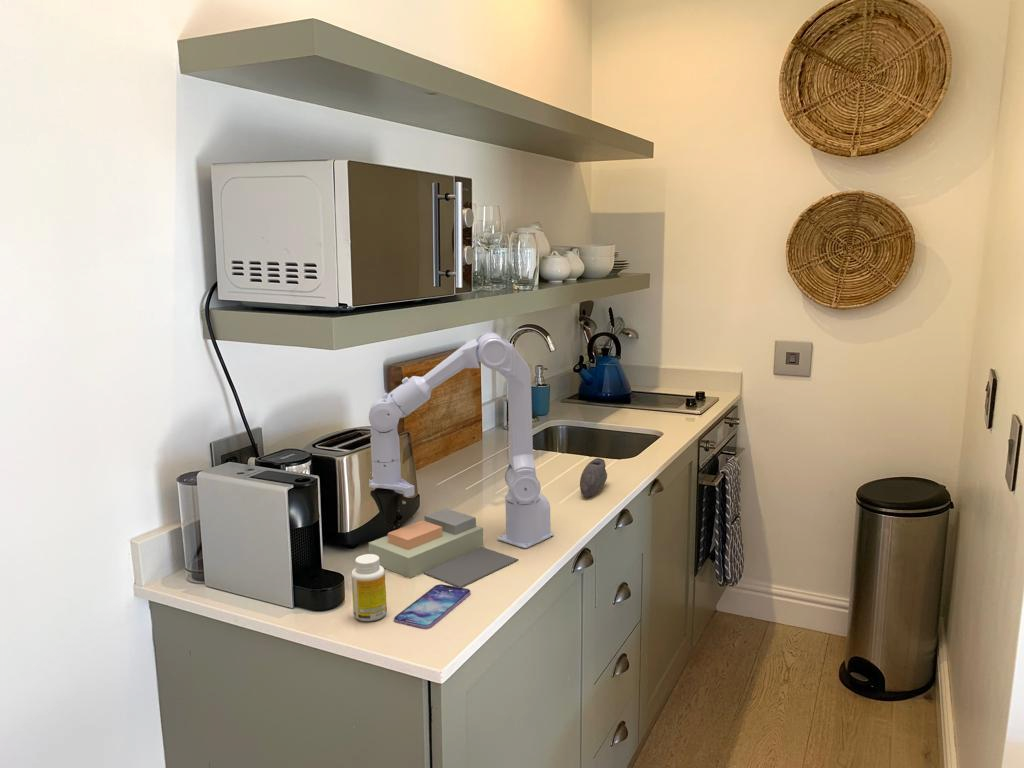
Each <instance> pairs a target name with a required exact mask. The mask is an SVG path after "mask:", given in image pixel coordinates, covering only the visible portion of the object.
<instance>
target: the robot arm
mask: <svg viewBox="0 0 1024 768" xmlns="http://www.w3.org/2000/svg"><path fill="white" fill-rule="evenodd" d="M479 363H480V364H482V365H483V366H485V368H488V369H490V370H493V371H496V372H499V374H501V376H503V377H504V378H505V379H506V380H507V405H508V406H507V407H508V408H507V410H508V437H509V455H508V465H507V468H506V470H505V473H504V480H505V481H504V482H505V484H506V485H507V488H508V489H509V490H508V491H507V493H506V494H505V502H504V503H505V531H506V532H505V533H504V534H502V535H500V536H497V540H498V541H500V542H504V543H506V544H510V545H513V546H516V547H519V548H522V549H528V548H530V547H532V546H534V545H537V544H538V543H541V542H544V540H545V541H546V540H547V539H549V538H551V536H552V537H554V532H551V505H550V502H549V500H548V498H547V496H545V495H544V494H542V492H541V490H542V487H541V482H540V480H539V479H538V477H537V472H536V464H535V460H534V459H535V457H534V448H533V447H534V445H533V444H534V443H533V441H534V440H533V438H534V437H533V410H532V409H533V406H532V404H533V403H532V402H533V401H532V373H531V372H532V371H531V369H530V367H529V365H528V364H527V363H526V361H525V360H524V359H523V357H522V356H521V354H520V353H519V352H518V350H516V348H515V346H514V345H512V343H510V341H509V340H508V339H506V338H504V337H503V335H500V334H498V333H496V332H494V331H485V332H483V333H481V334H480V335H479V336H478V337H477V338H473V339H471V340H470V341H468V342H466V343H465V344H464V345H462V346H460V347H459V348H458V349H457V350H455V351H454V352H452V353H451V354H450V355H448V356H447V358H445V359H444V360H442V361H441V362H440V363H438V364H437V365H436V366H435V367H433V368H432V369H431V370H430V371H428V372H427V373H426V374H424V375H423V376H417V375H412V376H411V377H407V376H406V377H404V378H403V379H402V380H401V384H400V385H399V386H397V387H396V388H394V389H393V390H391V391H390V392H389V393H388V392H385V393H384V394H382V398H379V399H377V400H375V401H374V402H373V403H372V404H371V405H370V409H369V412H368V414H369V415H368V421H369V424H370V435H371V436H370V452H371V453H370V455H371V470H372V471H371V473H372V477H373V479H372V480H370V479H369V484H368V487H369V488H372V489H373V490H371V491H370V497H372V499H373V500H374V502H375V504H376V506H377V509H378V511H379V515H380V519H381V521H382V524H384V525H387V526H389V525H392V524H394V523H396V518H397V513H398V509H399V506H400V503H401V501H402V498H403V497H405V498H409V497H413V496H415V485H413V484H410V482H408V481H406V480H405V479H404V478H402V475H401V474H402V473H401V471H402V469H401V466H402V465H401V445H400V436H399V435H400V434H399V433H398V425H399V421H400V419H402V418H403V419H404V418H406V417H408V416H409V415H410V414H412V412H414V411H416V410H417V409H418V408H421V406H422V405H424V404H425V403H427V402H429V400H431V395H432V390H434V389H436V387H438V386H440V385H441V384H443V383H445V382H446V381H447V380H449V379H450V378H452V377H453V376H455V375H457V374H458V373H460V372H461V371H462V370H464V369H480V368H481V367H480V364H479Z"/></svg>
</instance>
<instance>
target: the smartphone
mask: <svg viewBox="0 0 1024 768" xmlns="http://www.w3.org/2000/svg"><path fill="white" fill-rule="evenodd" d="M469 596H471V589H469V588H465V587H462V588H460V587H456V586H453V585H450V584H449V585H448V584H443V583H441V584H436V585H434V586H433V587H431V588H430V589H429V590H428V591H426V592H425V593H424V594H422V595H421V596H420V597H418V598H417V599H416V600H414V601H413V602H412V603H411V604H410V605H408V606H406V608H404V609H403V610H402V611H400V612H399V613H398V614H396V615H395V616H394V617H393V622H394V623H396V624H400V625H405V626H409V627H412V628H418V629H422V630H429V629H432V628H433V627H434V626H435V625H437V624H438V623H439V622H440V621H442V619H444V618H445V617H446V616H448V615H449V613H451V612H452V611H453V610H454V609H456V608H457V607H458V606H459V605H460V604H462V603H463V602H464V601H465V600H466V599H468V598H469Z"/></svg>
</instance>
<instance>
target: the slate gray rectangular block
mask: <svg viewBox="0 0 1024 768" xmlns="http://www.w3.org/2000/svg"><path fill="white" fill-rule="evenodd" d="M423 519H424V521H426V522H429V523H432V524H435V525H438V526H441V527H442V531H444V532H447V533H450V534H453V535H457V534H459V533H462V532H464V531H467V530H469V529H472V528H474V527H476V526H477V521H476V517H475V516H472V515H468V514H466V513H462V512H458V511H456V510H453V509H449V508H445V507H444V508H443V509H440V510H437V511H434V512H431V513H428V514H426V515H424V518H423Z"/></svg>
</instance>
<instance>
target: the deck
mask: <svg viewBox="0 0 1024 768" xmlns="http://www.w3.org/2000/svg"><path fill="white" fill-rule="evenodd" d="M442 533H443V536H442V537H440V538H437V539H435V540H432V541H430V542H427V543H425V544H422V545H420V546H417V547H415V548H412V549H410V550H407V549H404V548H401V547H399V546H396V545H393V544H391V543H388V535H386V536H383V537H380V538H378V539H377V538H376V539H375V540H373V541H369V542H368V554H374V555H377V556H378V557H379V562H380V566H382V567H383V568H384V569H387V570H388V571H392V572H394V573H396V574H399V575H401V576H403V577H406V578H408V579H411V578H414V577H416V576H418V575H421V574H422V573H423V572H425V571H427V570H430V569H432V568H434V567H436V566H439V565H441V564H443V563H446V562H448V561H450V560H453V559H455V558H457V557H459V556H462V555H464V554H466V553H469V552H471V551H473V550H475V549H478V548H480V547H484V527H482V526H478V525H476V527H474V528H472V529H469V530H467V531H464V532H462V533H459V534H457V535H453V534H450V533H447V532H444V531H442Z"/></svg>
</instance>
